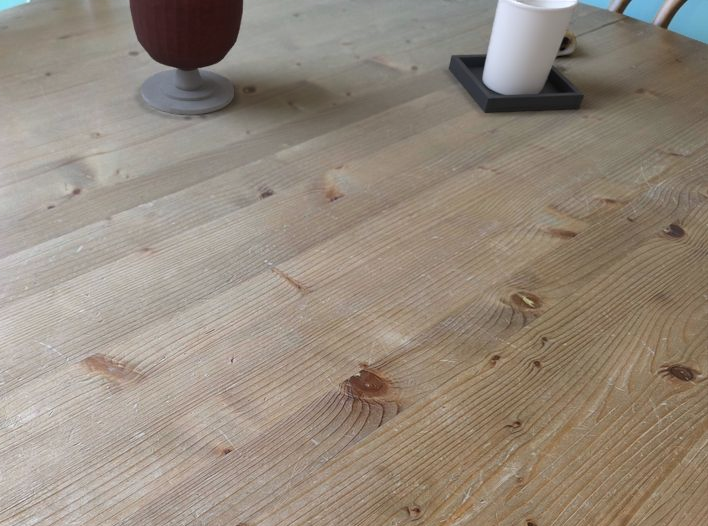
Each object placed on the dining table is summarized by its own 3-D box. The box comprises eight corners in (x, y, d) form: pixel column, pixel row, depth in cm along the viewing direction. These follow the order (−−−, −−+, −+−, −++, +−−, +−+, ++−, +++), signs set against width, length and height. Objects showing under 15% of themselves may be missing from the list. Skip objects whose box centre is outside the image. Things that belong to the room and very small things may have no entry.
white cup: (470, 91, 102) (495, -1, 94) (481, 64, 109) (505, -24, 101) (544, 106, 100) (575, 13, 92) (551, 77, 107) (581, -12, 98)
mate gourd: (120, 80, 102) (107, -85, 88) (212, 64, 106) (214, -95, 92) (164, 131, 92) (158, -45, 78) (264, 111, 97) (274, -59, 83)
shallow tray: (535, 66, 110) (539, 52, 109) (579, 108, 101) (584, 94, 100) (448, 68, 109) (451, 55, 107) (484, 112, 99) (488, 98, 98)
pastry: (507, 35, 118) (515, 10, 116) (545, 33, 120) (553, 8, 117) (539, 60, 112) (548, 34, 109) (578, 57, 114) (587, 31, 111)
